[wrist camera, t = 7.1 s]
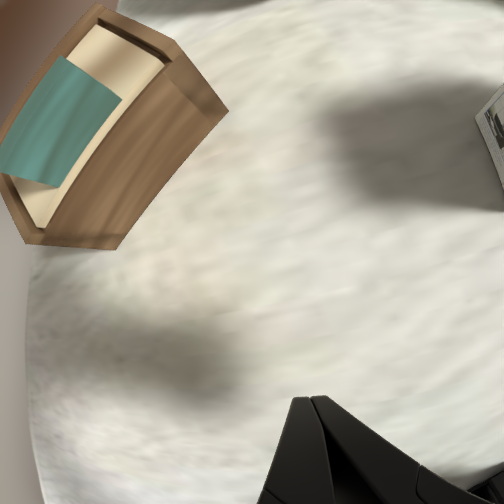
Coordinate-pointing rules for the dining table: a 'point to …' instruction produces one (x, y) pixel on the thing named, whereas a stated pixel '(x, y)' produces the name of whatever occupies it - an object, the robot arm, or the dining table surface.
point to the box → (122, 142)
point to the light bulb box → (494, 129)
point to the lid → (72, 117)
